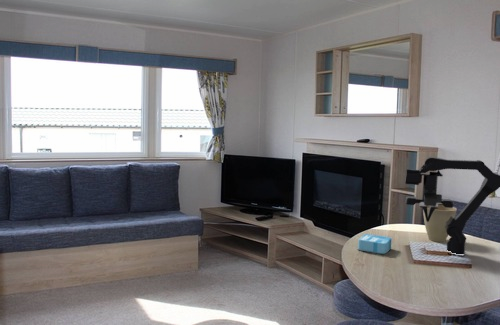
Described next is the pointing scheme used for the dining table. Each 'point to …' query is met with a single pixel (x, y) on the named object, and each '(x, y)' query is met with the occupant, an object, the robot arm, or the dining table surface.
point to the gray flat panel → (368, 251)
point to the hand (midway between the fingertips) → (427, 221)
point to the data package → (374, 243)
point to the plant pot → (438, 223)
